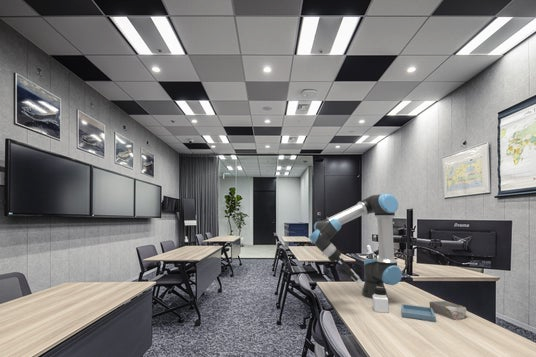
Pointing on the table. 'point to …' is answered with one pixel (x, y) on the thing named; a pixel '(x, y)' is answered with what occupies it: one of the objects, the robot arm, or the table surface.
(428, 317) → the tray
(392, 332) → the table surface
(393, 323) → the table surface
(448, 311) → the geological specimen
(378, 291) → the medicine bottle
